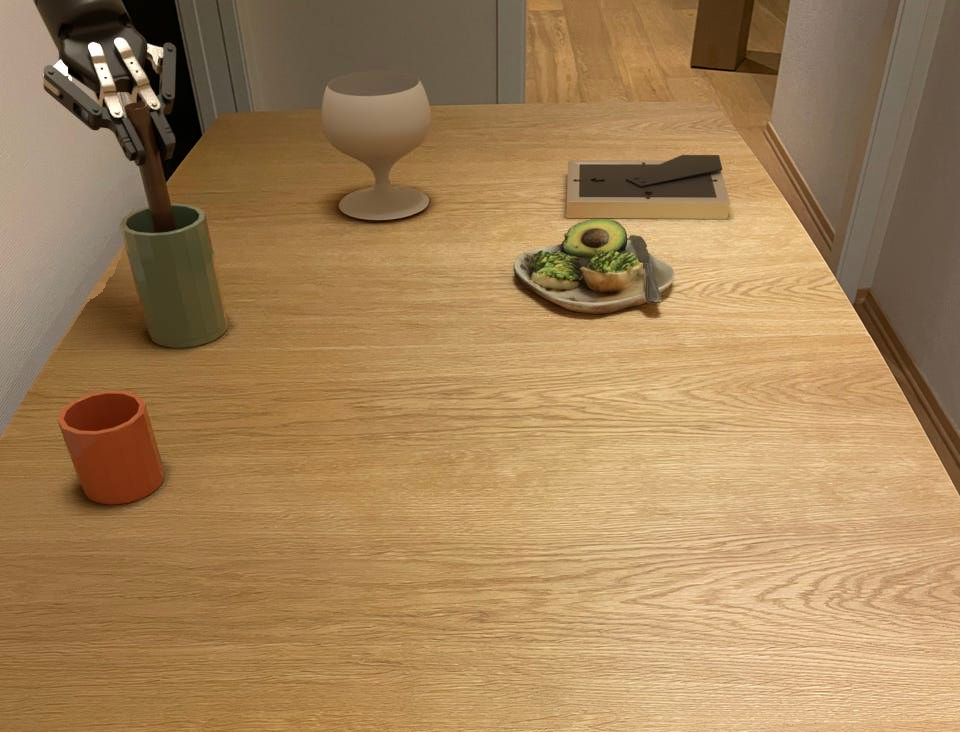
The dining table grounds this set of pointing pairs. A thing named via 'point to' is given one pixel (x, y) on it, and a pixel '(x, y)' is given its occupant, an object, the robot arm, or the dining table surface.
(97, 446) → the pot
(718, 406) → the dining table surface
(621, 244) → the avocado toast plate
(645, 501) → the dining table surface
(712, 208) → the picture frame
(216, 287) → the sage green cup
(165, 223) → the brush
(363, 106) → the chalice
